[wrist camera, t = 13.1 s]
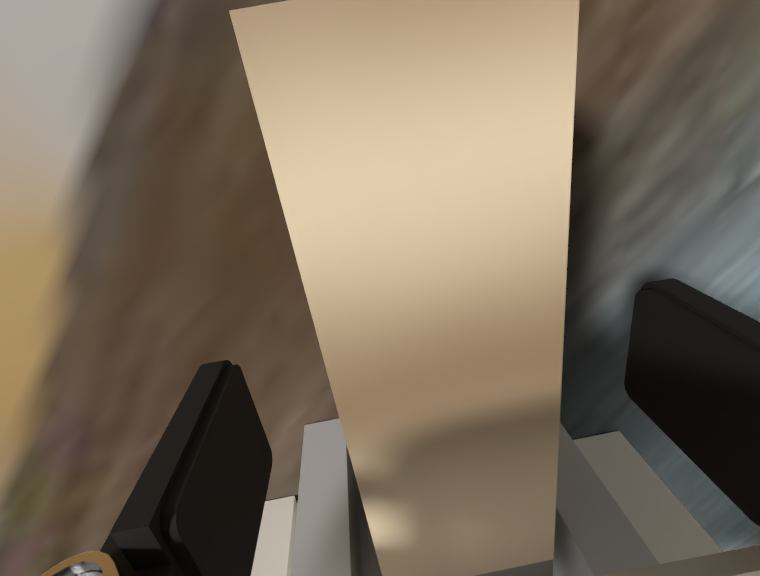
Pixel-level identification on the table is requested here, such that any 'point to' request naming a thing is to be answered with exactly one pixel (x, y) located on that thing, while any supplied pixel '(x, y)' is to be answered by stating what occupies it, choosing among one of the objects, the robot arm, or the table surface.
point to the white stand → (572, 519)
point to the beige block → (431, 255)
